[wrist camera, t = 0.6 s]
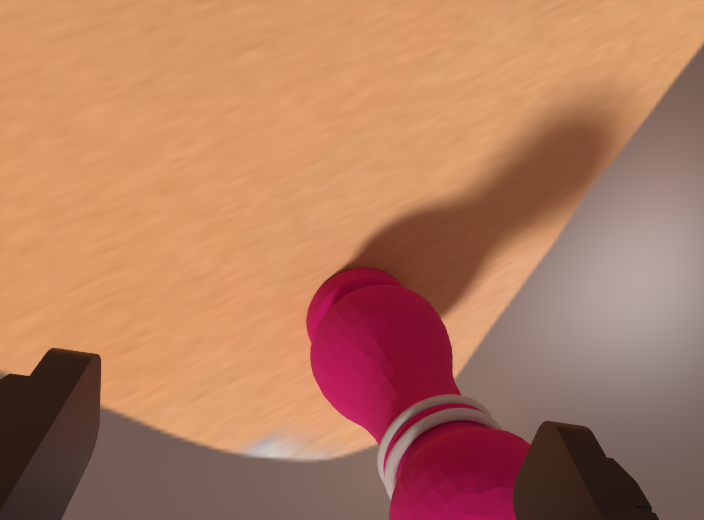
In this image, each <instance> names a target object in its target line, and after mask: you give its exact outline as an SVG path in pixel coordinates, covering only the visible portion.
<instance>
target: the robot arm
mask: <svg viewBox="0 0 704 520" xmlns="http://www.w3.org/2000/svg"><path fill="white" fill-rule="evenodd" d="M100 388H101V358H100V356H99V355H98V354H93V353H86V352H79V351H72V350H65V349H58V348H51V349H50V350H49V351H48V352H47V353H46V354H45V355H44V357H43V358H42V360H41V361H40V362H39V364H38V365H37V366H36V368H35V369H34V371H33V372H32V373H31V375H30V376H24V375H17V374H8V375H7V376H5V377H4V378H2V379H0V520H61V519H62V517H63V515H64V512H65V510H66V508H67V506H68V504H69V502H70V500H71V498H72V496H73V494H74V492H75V490H76V488H77V486H78V483H79V482H80V479H81V477H82V475H83V473H84V471H85V469H86V467H87V465H88V463H89V461H90V459H91V456H92V453H93V450H94V447H95V444H96V440H97V436H98V430H99V421H100ZM513 508H514V513H515V516H516V519H517V520H659V519H658V517H657V515H656V514H655V513H652V510H651V509H652V507H651V505H650V504H649V502H648V500H647V499H646V497H645V495H644V494H643V492H642V490H641V489H640V487H639V485H638V484H637V482H636V481H635V480H634V479H633V478H632V477H631V476H630V475H629V474H628V473H627V472H626V471H625V470H624V469H623V468H622V467H621V466H620V465H619V464H618V463H617V462H616V461H615V460H614V459H613V458H607V457H606V455H605V453H604V452H603V450H602V448H601V447H600V445H599V443H598V441H597V440H596V438H595V436H594V434H593V433H592V431H591V430H590V429H589V428H587V427H585V426H579V425H573V424H566V423H559V422H552V421H545V422H543V423H542V424H541V426H540V427H539V429H538V431H537V433H536V435H535V437H534V439H533V441H532V444H531V446H530V448H529V450H528V452H527V455H526V457H525V459H524V461H523V463H522V465H521V468H520V470H519V472H518V474H517V476H516V479H515V482H514V486H513Z"/></svg>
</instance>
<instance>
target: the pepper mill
mask: <svg viewBox="0 0 704 520" xmlns="http://www.w3.org/2000/svg"><path fill="white" fill-rule="evenodd" d="M306 324H307V332H308V336H309V338H310V341H311V343H312V344H311V352H310V359H311V367H312V371H313V375H314V377H315V379H316V382H317V384H318V386H319V387H320V389H321V391H322V393H323V395H324V396H325V398H326V399H327V400H328V401H329V402H330V403H331V405H332V406H333V407H334V408H335V409H336V410H337V411H338V412H339V413H341V414H342V415H343V416H345V417H346V418H347V419H349V420H351V421H353V422H355V423H357V424H358V425H360V426H362V427H364V428H365V429H366V430H367V431H368V432H369V433H370V434H371V435H372V436H373V437H374V438H375V440H376V441H377V443H378V444H379V450H378V458H377V463H378V470H379V474H380V477H381V479H382V481H383V483H384V485H385V488H386V491H387V493H388V495H389V497H390V499H391V505H390V511H389V520H517V519H516V516H515V513H514V508H513V486H514V482H515V479H516V476H517V474H518V472H519V470H520V468H521V465H522V463H523V461H524V459H525V457H526V455H527V452H528V450H529V448H530V446H531V445H530V444H529V443H528V442H526V441H525V440H523V439H522V438H521V437H518V436H517V435H514V434H512V433H510V432H508V431H503V429H502V428H501V426H500V425H499V424H498V423H497V422H496V421H495V420H494V419H493V417H492V416H491V414H490V412H489V411H488V410H487V409H486V408H485V407H484V406H483V405H482V404H480V403H479V402H477V401H476V400H473V399H471V398H469V397H466V396H462V395H461V393H460V391H459V390H458V388H457V386H456V384H455V381H454V378H453V373H452V357H453V356H452V347H451V343H450V340H449V336H448V333H447V330H446V327H445V325H444V324H443V322H442V320H441V318H440V317H439V315H438V314H437V312H436V311H435V310H434V308H433V307H432V306H431V305H430V303H429V302H427V301H426V300H425V299H424V298H423V297H421V296H420V295H418V294H417V293H415V292H413V291H411V290H409V289H406V288H404V287H403V286H402V285H401V284H400V283H399V282H398V281H397V280H396V279H395V278H394V277H392V276H391V275H390V274H388V273H386V272H383V271H381V270H378V269H373V268H356V269H350V270H348V271H345V272H342V273H340V274H338V275H336V276H334V277H333V278H331V279H330V280H328V281H327V282H326V283H325V284H324V285H323V286H322V287H321V288H320V289H319V290H318V291H317V293H316V294H315V295H314V297H313V299H312V301H311V303H310V306H309V309H308V313H307V320H306Z"/></svg>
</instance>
